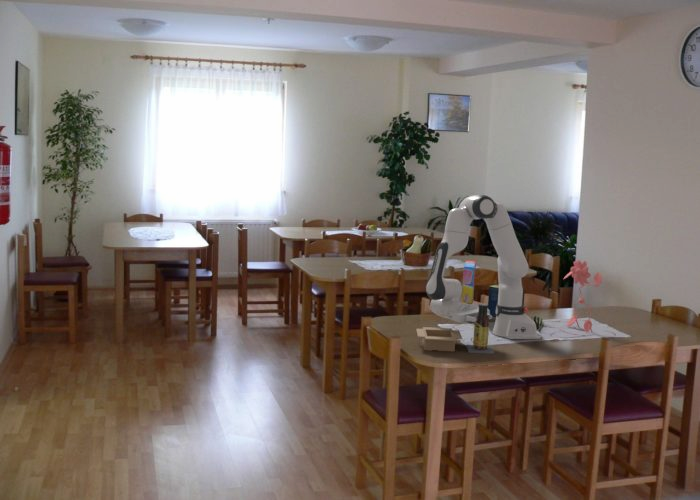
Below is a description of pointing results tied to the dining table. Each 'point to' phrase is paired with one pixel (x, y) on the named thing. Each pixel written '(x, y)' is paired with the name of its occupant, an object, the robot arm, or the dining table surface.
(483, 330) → the sauce bottle
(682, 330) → the dining table surface
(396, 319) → the dining table surface
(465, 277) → the game box
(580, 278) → the pink blossom sprig
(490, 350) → the mat
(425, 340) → the carton
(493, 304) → the protein box
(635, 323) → the dining table surface
